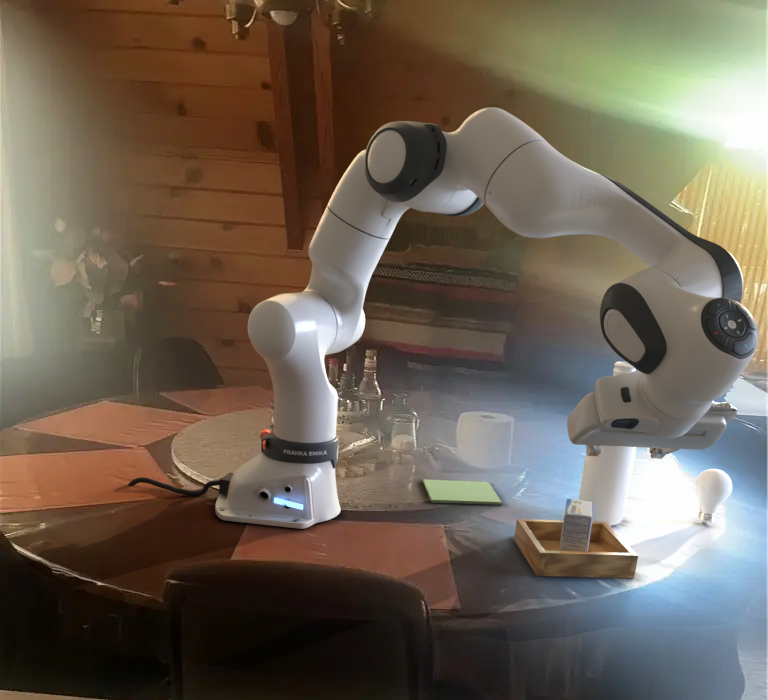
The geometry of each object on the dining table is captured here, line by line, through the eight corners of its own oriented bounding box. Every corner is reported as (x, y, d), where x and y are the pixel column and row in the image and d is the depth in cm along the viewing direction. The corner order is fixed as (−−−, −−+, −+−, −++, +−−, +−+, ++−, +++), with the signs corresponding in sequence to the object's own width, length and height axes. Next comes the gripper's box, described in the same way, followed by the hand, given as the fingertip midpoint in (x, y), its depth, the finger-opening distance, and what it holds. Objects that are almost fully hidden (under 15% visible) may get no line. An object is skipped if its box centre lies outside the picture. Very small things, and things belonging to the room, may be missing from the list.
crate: (536, 576, 119) (540, 552, 117) (514, 539, 132) (516, 518, 131) (634, 578, 120) (638, 555, 119) (602, 542, 134) (605, 521, 132)
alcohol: (590, 506, 151) (615, 357, 142) (631, 519, 146) (659, 365, 137) (567, 515, 145) (592, 360, 136) (609, 530, 140) (637, 369, 130)
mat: (431, 502, 147) (431, 499, 146) (422, 481, 158) (422, 479, 158) (501, 505, 148) (502, 502, 148) (488, 484, 160) (488, 481, 159)
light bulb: (729, 525, 147) (742, 472, 143) (712, 532, 142) (725, 477, 139) (697, 514, 151) (709, 462, 148) (680, 520, 147) (691, 467, 144)
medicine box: (585, 567, 122) (593, 517, 119) (557, 562, 123) (564, 513, 120) (585, 548, 129) (593, 501, 126) (559, 544, 130) (566, 497, 127)
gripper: (738, 384, 98) (688, 436, 110) (586, 376, 96) (552, 430, 108) (749, 427, 95) (697, 475, 107) (593, 419, 93) (557, 470, 105)
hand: (623, 453), depth 108 cm, fingers open, 8 cm apart
